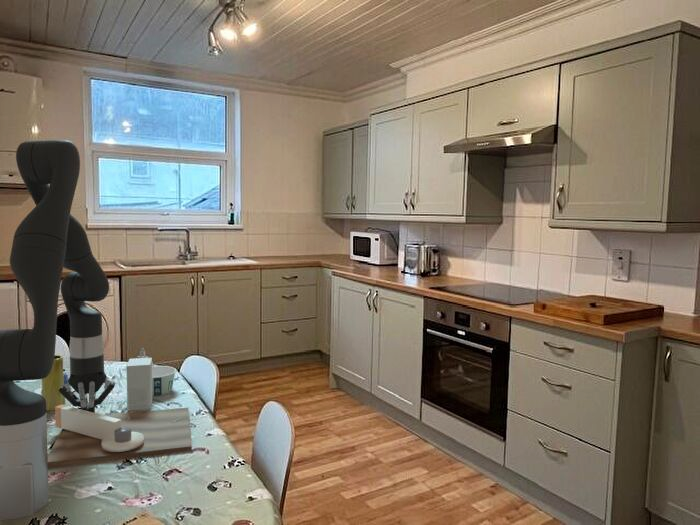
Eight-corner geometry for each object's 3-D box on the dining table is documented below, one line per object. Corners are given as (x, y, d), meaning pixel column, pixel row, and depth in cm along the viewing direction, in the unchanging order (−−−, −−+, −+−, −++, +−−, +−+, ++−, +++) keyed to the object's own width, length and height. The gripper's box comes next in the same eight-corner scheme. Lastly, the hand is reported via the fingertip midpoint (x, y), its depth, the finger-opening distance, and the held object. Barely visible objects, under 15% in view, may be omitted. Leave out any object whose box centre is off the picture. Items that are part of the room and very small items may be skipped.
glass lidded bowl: (164, 364, 195) (164, 343, 194) (154, 371, 186) (154, 349, 185) (140, 363, 195) (140, 342, 194) (129, 370, 186) (129, 348, 186)
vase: (54, 412, 145) (53, 361, 144) (35, 410, 146) (34, 359, 145) (70, 404, 151) (69, 355, 150) (52, 402, 152) (50, 354, 151)
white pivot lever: (152, 440, 124) (152, 418, 124) (121, 455, 116) (120, 432, 116) (75, 419, 135) (74, 400, 135) (41, 432, 127) (41, 411, 127)
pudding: (69, 398, 157) (68, 380, 157) (26, 398, 156) (25, 381, 155) (84, 385, 169) (84, 369, 168) (44, 385, 168) (44, 369, 167)
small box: (129, 402, 154) (129, 358, 153) (152, 400, 156) (152, 357, 155) (126, 411, 146) (126, 365, 145) (151, 410, 148) (150, 364, 147)
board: (191, 452, 122) (191, 445, 122) (44, 469, 113) (44, 462, 112) (188, 412, 147) (188, 407, 147) (67, 423, 137) (67, 417, 137)
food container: (135, 387, 167) (135, 367, 167) (175, 384, 171) (175, 364, 171) (135, 400, 156) (134, 378, 155) (177, 396, 160) (177, 374, 160)
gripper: (53, 358, 124) (55, 430, 126) (114, 355, 128) (115, 424, 130) (59, 350, 131) (61, 418, 133) (117, 347, 135) (118, 413, 137)
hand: (88, 421), depth 131 cm, fingers closed
